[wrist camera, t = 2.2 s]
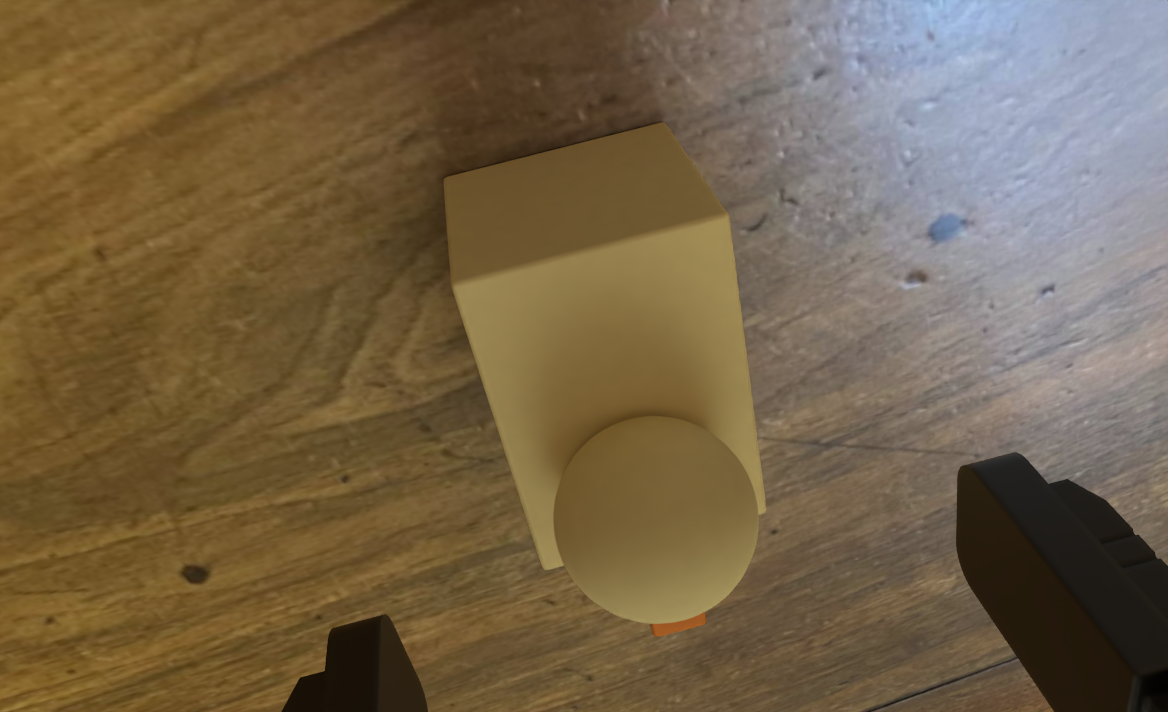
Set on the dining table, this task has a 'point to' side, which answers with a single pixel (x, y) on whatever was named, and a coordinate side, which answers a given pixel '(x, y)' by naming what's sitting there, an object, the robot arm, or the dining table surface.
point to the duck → (615, 367)
